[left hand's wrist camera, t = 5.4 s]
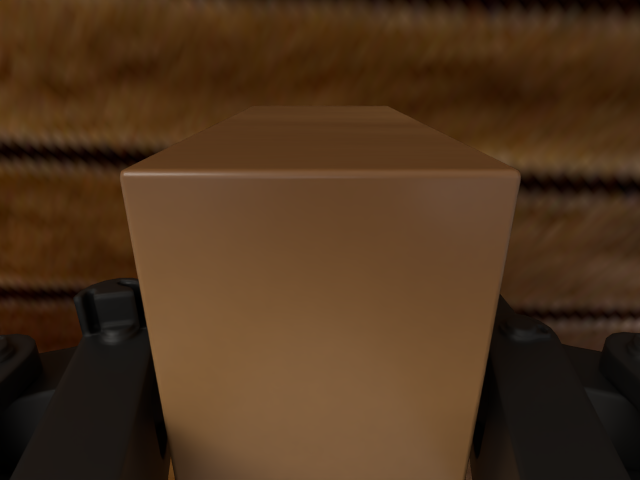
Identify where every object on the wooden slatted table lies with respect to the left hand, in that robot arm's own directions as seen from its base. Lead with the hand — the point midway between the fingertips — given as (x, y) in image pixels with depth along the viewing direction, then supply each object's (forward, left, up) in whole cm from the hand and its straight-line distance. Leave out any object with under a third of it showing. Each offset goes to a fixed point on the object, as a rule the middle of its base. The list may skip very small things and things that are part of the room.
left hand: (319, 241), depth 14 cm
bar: (0, +8, -1) cm, 8 cm away
